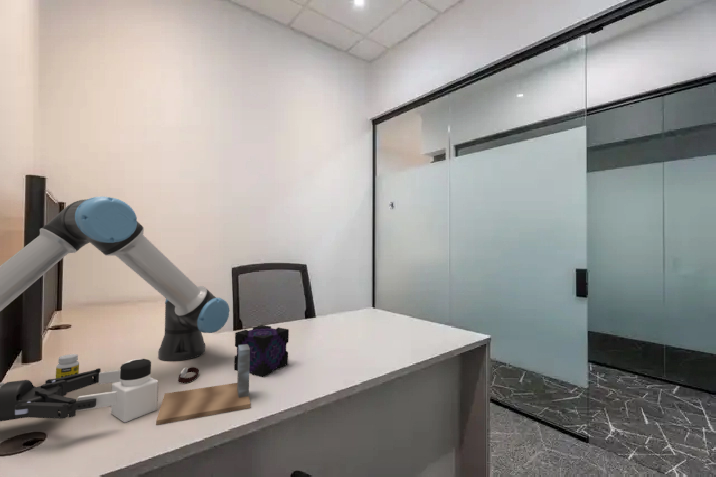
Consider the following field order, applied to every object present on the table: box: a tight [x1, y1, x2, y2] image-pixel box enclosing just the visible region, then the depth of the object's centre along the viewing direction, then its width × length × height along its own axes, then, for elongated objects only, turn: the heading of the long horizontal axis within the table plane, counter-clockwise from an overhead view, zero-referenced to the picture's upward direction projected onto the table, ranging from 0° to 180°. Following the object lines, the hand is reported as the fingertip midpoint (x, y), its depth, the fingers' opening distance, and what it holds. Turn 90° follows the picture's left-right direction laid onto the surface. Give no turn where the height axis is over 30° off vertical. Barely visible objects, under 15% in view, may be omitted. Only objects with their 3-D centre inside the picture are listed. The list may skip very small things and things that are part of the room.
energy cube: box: [233, 324, 290, 378], centre depth 106 cm, size 12×12×12 cm
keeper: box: [155, 344, 252, 426], centre depth 82 cm, size 20×14×13 cm
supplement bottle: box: [55, 353, 80, 379], centre depth 89 cm, size 5×5×8 cm
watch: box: [177, 366, 200, 384], centre depth 96 cm, size 8×5×4 cm, turn 179°
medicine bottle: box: [110, 358, 159, 423], centre depth 77 cm, size 7×7×12 cm
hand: (124, 385), depth 76 cm, fingers open, 13 cm apart
